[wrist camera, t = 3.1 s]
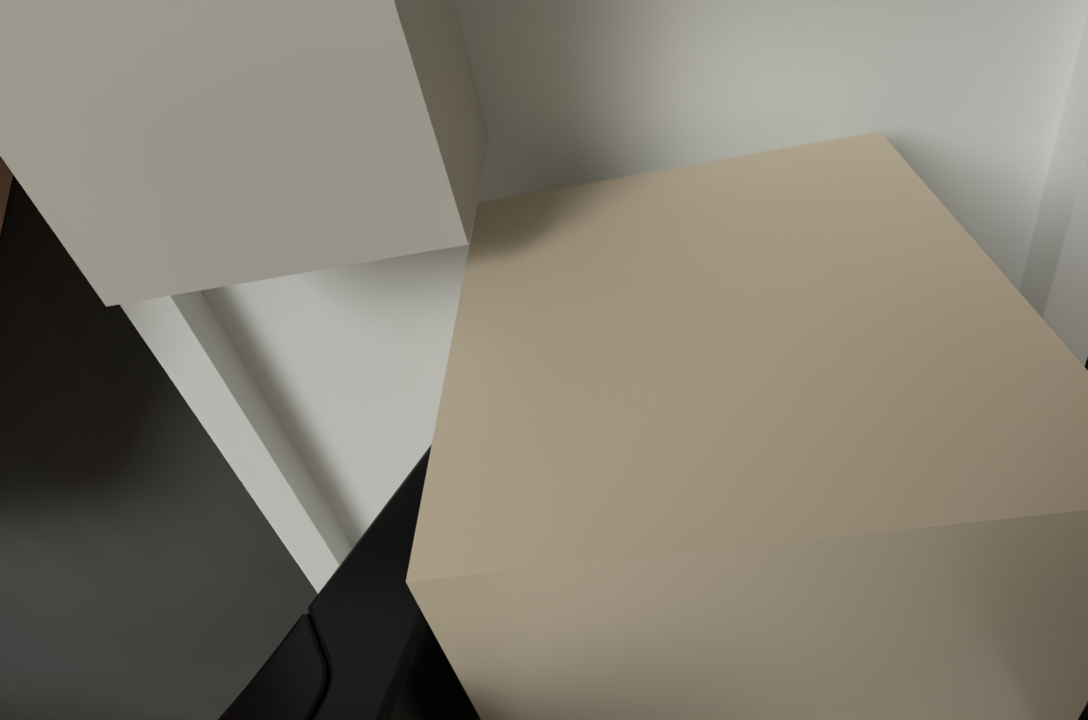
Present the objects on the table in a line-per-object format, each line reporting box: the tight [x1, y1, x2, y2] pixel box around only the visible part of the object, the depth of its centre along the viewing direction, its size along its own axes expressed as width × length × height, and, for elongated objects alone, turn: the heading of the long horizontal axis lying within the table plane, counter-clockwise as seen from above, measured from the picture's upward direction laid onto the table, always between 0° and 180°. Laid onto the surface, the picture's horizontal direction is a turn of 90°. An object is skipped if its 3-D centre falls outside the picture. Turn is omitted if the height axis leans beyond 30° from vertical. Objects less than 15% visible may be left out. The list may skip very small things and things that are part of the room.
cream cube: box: [406, 131, 1088, 720], centre depth 7 cm, size 4×4×5 cm
